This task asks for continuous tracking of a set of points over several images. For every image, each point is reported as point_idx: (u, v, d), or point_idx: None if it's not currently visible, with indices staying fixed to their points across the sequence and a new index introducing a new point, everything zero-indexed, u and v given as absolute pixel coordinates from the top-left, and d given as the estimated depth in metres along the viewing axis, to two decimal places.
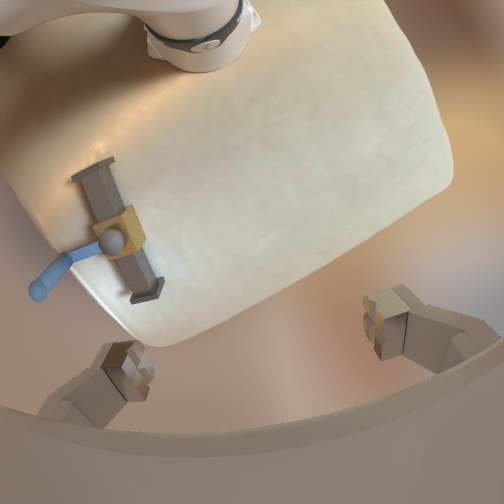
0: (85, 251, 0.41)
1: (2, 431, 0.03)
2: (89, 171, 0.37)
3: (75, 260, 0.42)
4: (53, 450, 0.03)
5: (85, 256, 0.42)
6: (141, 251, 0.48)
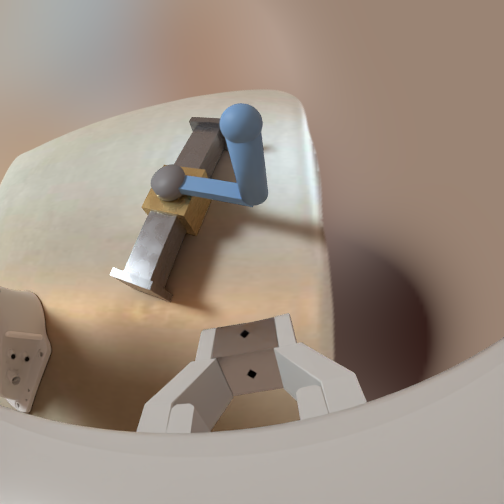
0: (208, 187, 0.31)
1: (2, 431, 0.03)
2: (125, 274, 0.29)
3: (237, 185, 0.30)
4: (53, 450, 0.03)
5: (215, 182, 0.31)
6: None
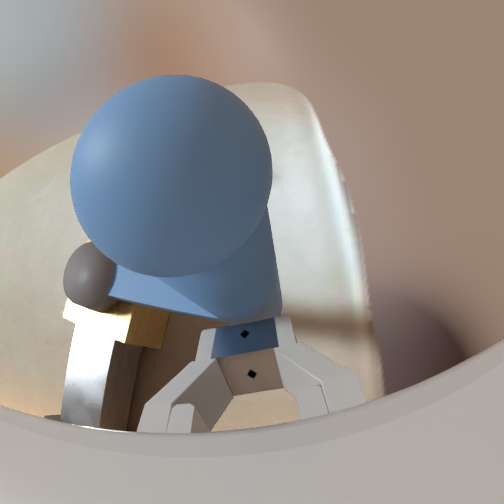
0: (156, 291, 0.15)
1: (2, 431, 0.03)
2: None
3: None
4: (53, 450, 0.03)
5: None
6: None
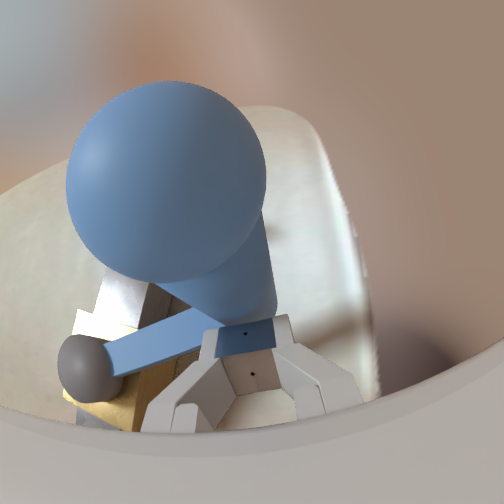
0: (156, 345, 0.13)
1: (2, 431, 0.03)
2: None
3: None
4: (53, 450, 0.03)
5: (160, 327, 0.14)
6: None
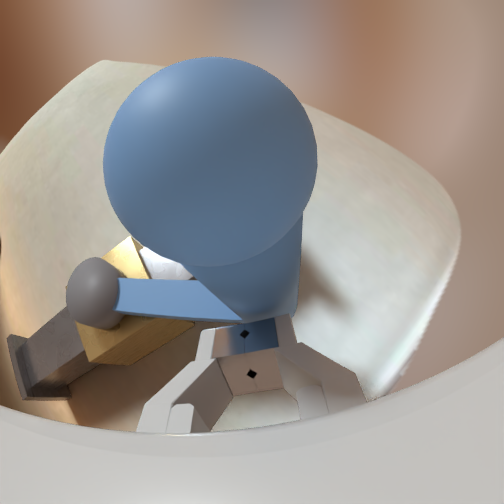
0: (166, 300, 0.14)
1: (2, 431, 0.03)
2: (14, 356, 0.15)
3: None
4: (53, 450, 0.03)
5: (178, 285, 0.15)
6: None
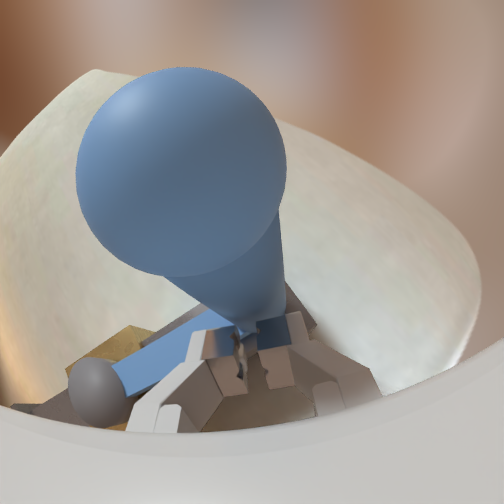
0: (168, 358, 0.13)
1: (2, 431, 0.03)
2: None
3: (212, 312, 0.14)
4: (53, 450, 0.03)
5: (170, 338, 0.13)
6: None
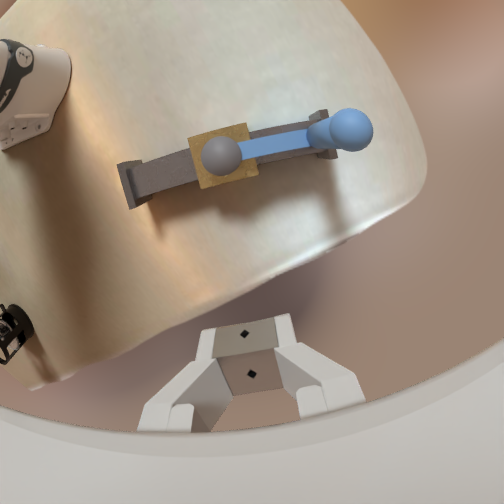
0: (272, 145, 0.28)
1: (2, 431, 0.03)
2: (125, 178, 0.31)
3: (299, 132, 0.28)
4: (53, 450, 0.03)
5: (275, 137, 0.28)
6: None
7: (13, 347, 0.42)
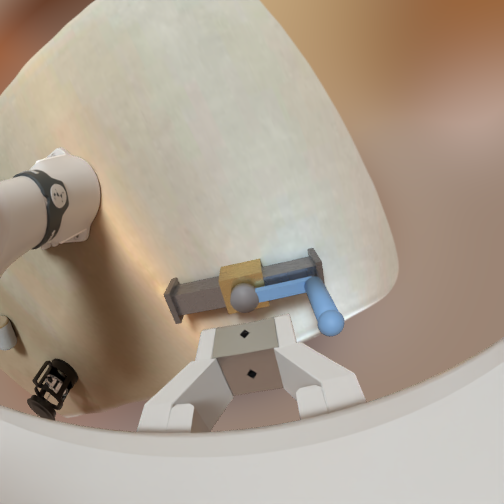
0: (280, 293, 0.43)
1: (2, 431, 0.03)
2: (172, 304, 0.45)
3: (299, 284, 0.42)
4: (53, 450, 0.03)
5: (282, 288, 0.42)
6: (270, 267, 0.47)
7: None
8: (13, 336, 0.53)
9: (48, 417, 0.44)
